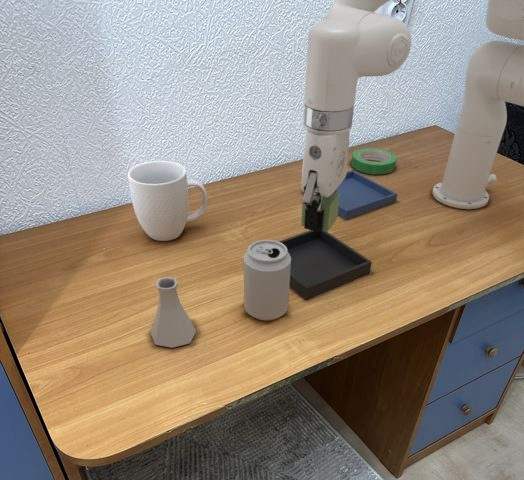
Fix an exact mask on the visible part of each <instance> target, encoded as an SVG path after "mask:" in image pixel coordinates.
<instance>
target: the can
mask: <svg viewBox="0 0 524 480" xmlns="http://www.w3.org/2000/svg"><path fill="white" fill-rule="evenodd" d="M290 268H291V256H290V254H289V253H288V249H287V247H286V246H285V245H284V244H282V243H281V242H279V241H278V240H273V239H259V240H256V241H254V242H252V243H251V244H249V246H248V247H247V251H246V252H245V253H244V255H243V308H244V309H245V312H246V313H247V314H248V316H251V317H252V318H254V319H256V320H260V321H274V320H277V319H279V318H280V317H282V316H283V315H285V314H286V313H287V311H288V310H289V299H290V298H289V296H290V286H289V284H290Z"/></svg>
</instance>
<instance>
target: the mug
mask: <svg viewBox="0 0 524 480" xmlns="http://www.w3.org/2000/svg"><path fill="white" fill-rule="evenodd" d="M187 175H188V174H187V169H186V167H185V166H183V165H182V164H181V163H178V162H176V161H170V160H151V161H145V162H142V163H138V164H136V165H134V166H132V167H131V168H130V169H129V170H128V172H127V178H128V179H127V180H128V187H129V191H130V197H131V202H132V207H133V211H134V213H135V216H136V218H137V221H138V223H139V225H140V227H141V228H142V230H143V231H144V232H145V234H146V235H147V236H148V237H149V238H150V239H152V240H155V241H158V242H168V241H172V240H175V239H177V238H178V237H180V236H181V235H182V233H183V231H184V230H185V228H186V227H185V226H186V224H187V223H189V222H191V221H194V220H196V219H198V218H200V217H201V216H202V215H203V214H204V213H205V211H206V209H207V207H208V201H209V200H208V199H209V198H208V192H207V191H206V188H205V187H204V185H203V184H202V183H201V182H200V181H198V180H195V179H191V178H190V179H188V176H187ZM191 187H197V188H198V189H199V190H200V193H201V194H202V202H201V205H200V207H199V208H198V210H196V211H195V212H193V213H192V214H189V203H190V202H189V200H190V198H189V188H191Z"/></svg>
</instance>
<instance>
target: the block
mask: <svg viewBox="0 0 524 480" xmlns="http://www.w3.org/2000/svg"><path fill="white" fill-rule="evenodd" d="M315 191H318V192H319V189H317V188H316V189H315ZM339 198H340V193H336V192H333V194H332V195H330V196H329V197H325V196H324V202H323V208H322V210H324V218H323V229H322V231H325V232H328V233H329V231H330V230H331V228H332V227H333V225H334V224H335V223H336V221H337V220H338V216H339V215H338V207H339ZM314 200H316V201H317V202H319V197H318V196H314ZM304 223H305V204H304V203H303V201H302V204H301V221H300V224H301V227H304Z"/></svg>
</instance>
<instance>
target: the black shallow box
mask: <svg viewBox="0 0 524 480" xmlns="http://www.w3.org/2000/svg"><path fill="white" fill-rule="evenodd" d="M278 242H281V243H282V244H284V245H285V246H286V247H287V249H288V253H289V254H290V256H291V268H290V284H289V288H291V289H292V290H293V291H294V292H296V293H297V294H298V295H299V296H300V297H302V298H303V299H304V300H305V301H308V300H309V299H312V298H315V297H316V296H319V295H321V294H324V293H325V292H329V291H331V290H333V289H335V288H338V287H340V286H342V285H345V284H347V283H349V282H351V281H354V280H356V279H359V278H361V277H364V276H366V275H369V274H371V268H372V263H373V261H371V260H370V259H369V258H367V257H366V256H364V255H362V254H361V253H359V252H358V251H356V250H355V249H353V248H352V247H351V246H349V245H348V244H346V243H344V242H343V241H342V240H340V239H338V238H337V237H335V236H334V235H332V234H331V233H330V232H329V231H328V232H325V231H321V232H316V231H312V230H307V231H305V232H302V233H299V234H295V235H293V236H290V237H288V238H285V239H282V240H280V241H278Z"/></svg>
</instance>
